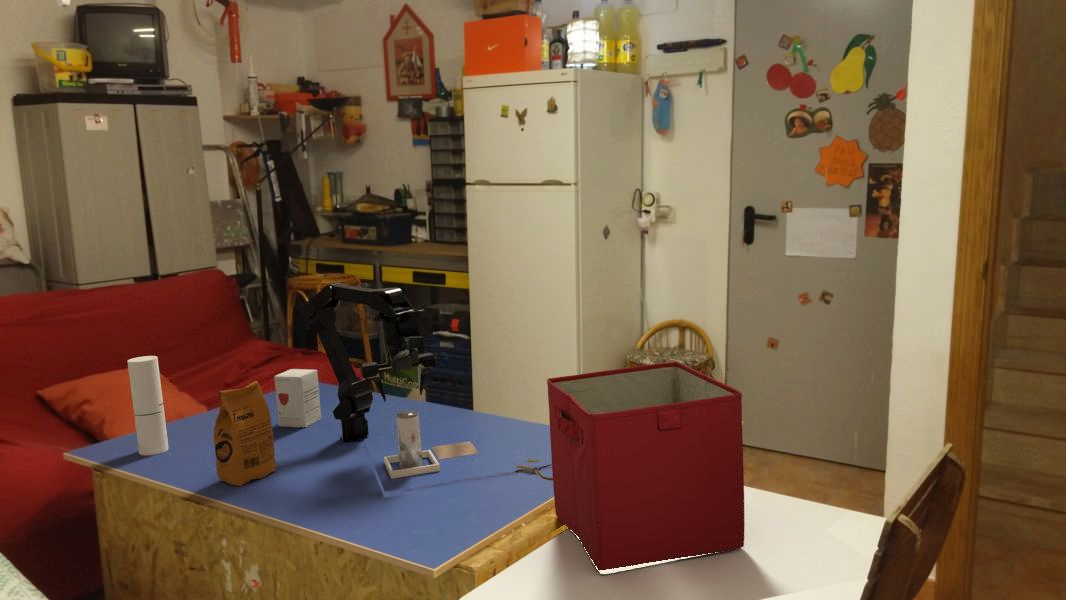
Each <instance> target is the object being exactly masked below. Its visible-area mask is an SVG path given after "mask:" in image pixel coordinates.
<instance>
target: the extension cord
mask: <svg viewBox="0 0 1066 600" xmlns="http://www.w3.org/2000/svg"><path fill="white" fill-rule="evenodd" d="M543 461H545V459H529V458H527V460H526V462H527V463H535V462H536V463H537V462H543ZM549 466H552V463H551V464H547V465H545V466H543V467H540V468H538V469H537V471H536V468H535V467H534V466H531V465H527V464H524V465H523V464H522V465H520V464H518V465H516V468H517V470H516V472H517V473H524V474H531V473H532V474H533V473H534V474H535V475H536V476H537V477H542V478H543V479H546V480H550V481H553V477H547V476H544V475H543V474H542V473H541V472H540V471H542V469H545V468H546V467H549Z"/></svg>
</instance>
